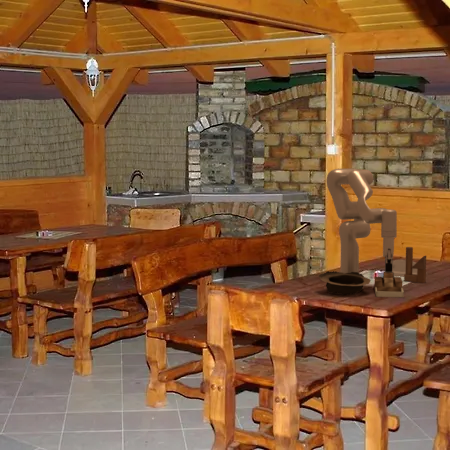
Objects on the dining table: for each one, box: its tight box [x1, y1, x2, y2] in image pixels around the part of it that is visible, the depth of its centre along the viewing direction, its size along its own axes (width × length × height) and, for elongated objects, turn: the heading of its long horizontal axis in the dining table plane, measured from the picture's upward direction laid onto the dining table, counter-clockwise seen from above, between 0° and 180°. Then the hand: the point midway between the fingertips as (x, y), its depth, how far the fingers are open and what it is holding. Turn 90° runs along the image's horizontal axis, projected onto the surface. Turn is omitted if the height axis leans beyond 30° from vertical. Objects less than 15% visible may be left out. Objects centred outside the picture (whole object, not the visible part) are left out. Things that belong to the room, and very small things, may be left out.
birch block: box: [384, 278, 393, 287], centre depth 407 cm, size 4×4×4 cm
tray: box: [374, 287, 405, 298], centre depth 399 cm, size 13×12×2 cm
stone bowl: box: [318, 270, 371, 296], centre depth 406 cm, size 25×25×9 cm
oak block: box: [383, 271, 393, 278], centre depth 411 cm, size 4×4×6 cm
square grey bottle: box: [382, 256, 395, 280], centre depth 414 cm, size 5×4×14 cm
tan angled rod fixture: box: [403, 246, 427, 284], centre depth 434 cm, size 4×11×18 cm, turn 55°
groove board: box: [374, 276, 403, 292], centre depth 411 cm, size 13×13×6 cm
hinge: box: [392, 259, 417, 278], centre depth 454 cm, size 17×5×10 cm, turn 60°
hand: (388, 270), depth 414 cm, fingers closed on square grey bottle, 3 cm apart
